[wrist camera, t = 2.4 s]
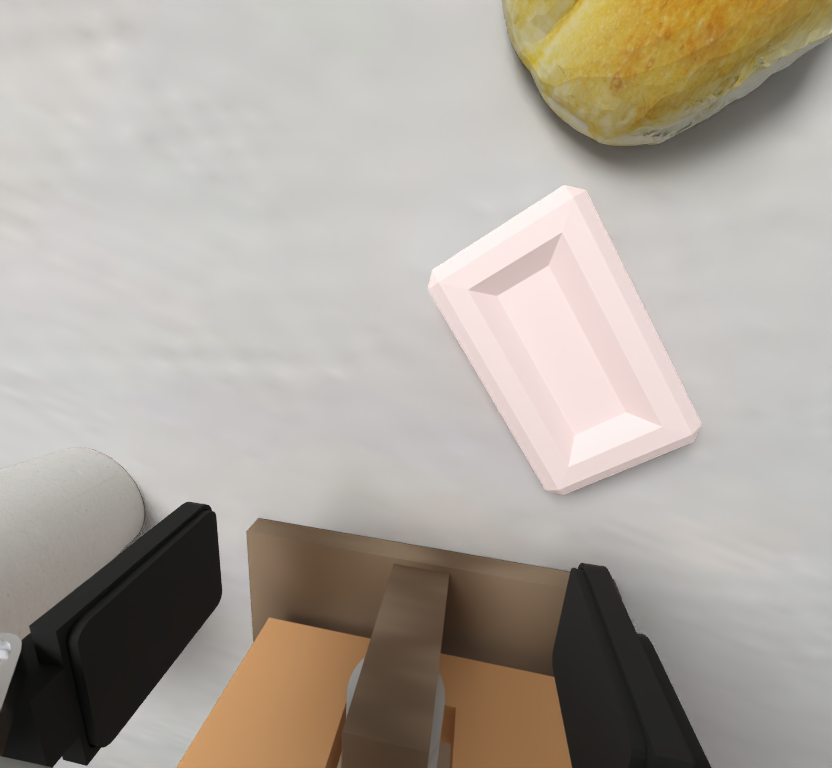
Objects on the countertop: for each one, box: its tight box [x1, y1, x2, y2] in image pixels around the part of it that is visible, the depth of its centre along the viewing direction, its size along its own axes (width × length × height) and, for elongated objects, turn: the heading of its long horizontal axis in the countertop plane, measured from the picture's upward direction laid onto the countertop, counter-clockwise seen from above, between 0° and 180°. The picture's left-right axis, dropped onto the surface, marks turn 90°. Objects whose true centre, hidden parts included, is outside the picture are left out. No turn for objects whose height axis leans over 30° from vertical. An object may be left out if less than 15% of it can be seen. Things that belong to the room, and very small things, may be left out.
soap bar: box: [428, 185, 702, 495], centre depth 14 cm, size 5×9×2 cm, turn 32°
